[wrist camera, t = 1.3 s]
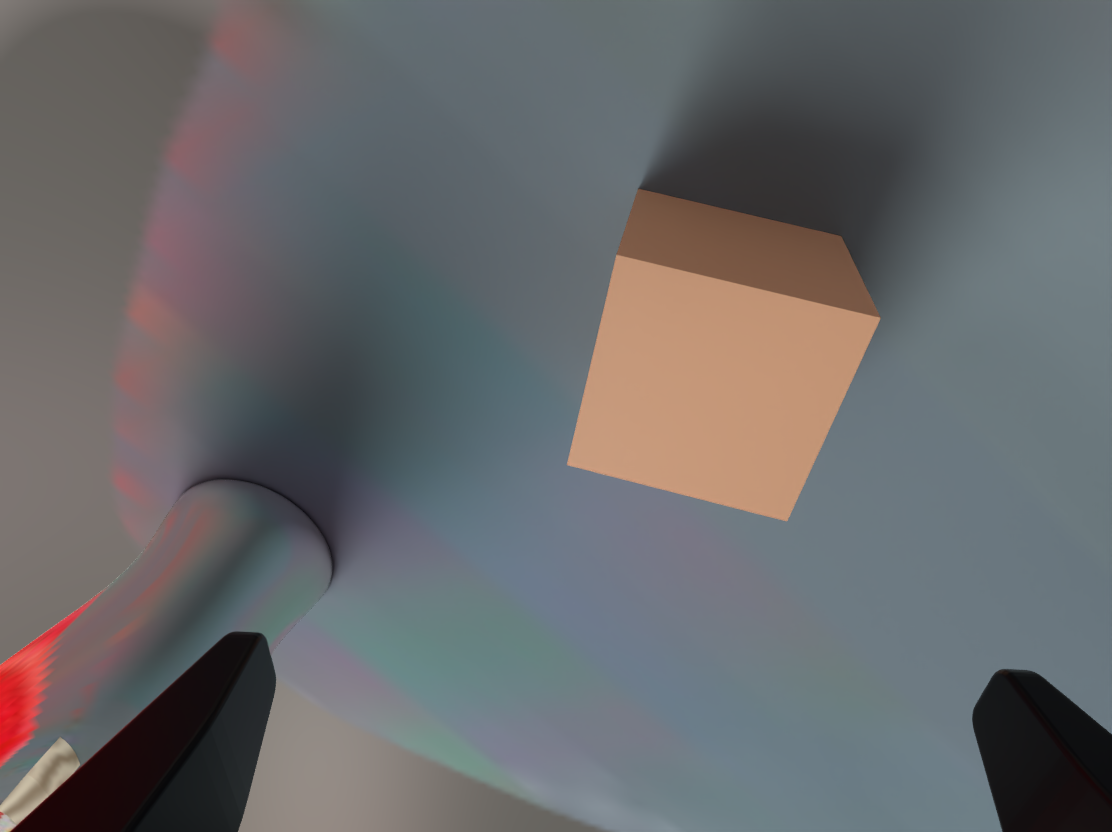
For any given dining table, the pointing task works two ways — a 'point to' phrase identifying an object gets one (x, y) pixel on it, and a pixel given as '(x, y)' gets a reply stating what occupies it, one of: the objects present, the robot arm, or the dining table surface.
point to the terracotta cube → (721, 354)
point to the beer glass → (154, 630)
